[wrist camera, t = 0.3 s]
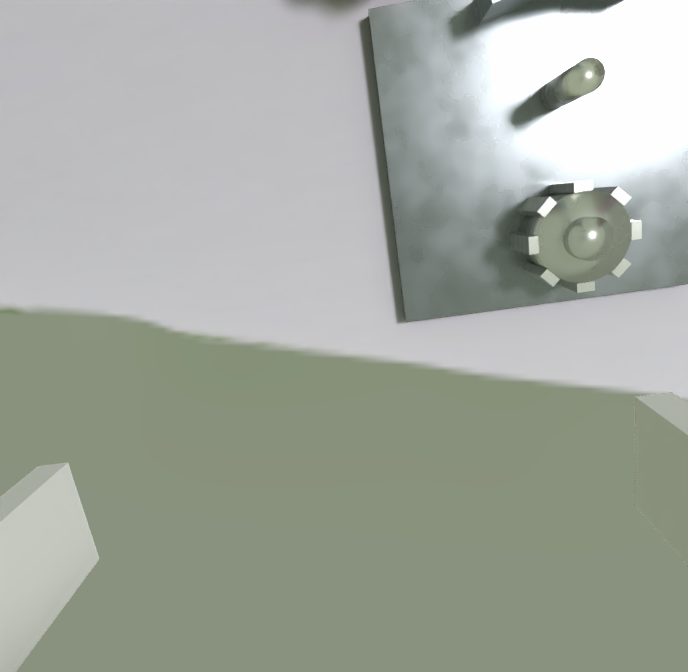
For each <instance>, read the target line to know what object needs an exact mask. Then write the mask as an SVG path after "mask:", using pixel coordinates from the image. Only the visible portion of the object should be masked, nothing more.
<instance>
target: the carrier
mask: <svg viewBox="0 0 688 672" xmlns="http://www.w3.org/2000/svg"><path fill="white" fill-rule="evenodd" d="M368 16H369V25H370V33H371V41H372V49H373V58H374V66H375V74H376V82H377V91H378V99H379V107H380V115H381V124H382V132H383V140H384V148H385V156H386V165H387V173H388V181H389V189H390V198H391V206H392V214H393V222H394V231H395V239H396V247H397V255H398V264H399V272H400V280H401V288H402V297H403V305H404V313H405V319H406V322H411V321H418V320H426V319H433V318H441V317H448V316H455V315H463V314H470V313H478V312H485V311H492V310H500V309H507V308H515V307H522V306H530V305H537V304H544V303H552V302H559V301H567V300H574V299H581V298H589V297H596V296H604V295H611V294H618V293H626V292H633V291H641V290H648V289H655V288H663V287H670V286H678V285H685V284H688V0H415V1H409V2H404V3H398V4H393V5H388V6H382V7H377V8H372V9H369V13H368Z"/></svg>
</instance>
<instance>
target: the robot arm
mask: <svg viewBox="0 0 688 672" xmlns="http://www.w3.org/2000/svg"><path fill="white" fill-rule="evenodd" d="M634 473H635V475H634V476H635V477H634V479H635V480H634V484H635V485H634V506H635V507H636V508H637V509H638V510H639V512H640V513H641V514H642V515H643V516H644V517H645V518H646V520H647V521H648V522H649V523H650V524H651V525H652V526H653V528H654V529H655V530H656V531H657V532H658V533H659V534H660V536H661V537H662V538H663V539H664V540H665V541H666V542H667V544H668V545H669V546H670V547H671V548H672V549H673V550H674V552H675V553H676V554H677V555H678V556H679V557H680V558H681V559H682V561H683V562H684V563H685V564H686V565H687V566H688V402H686V401H684V400H683V399H681V398H680V397H678V396H676V395H675V394H673V393H672V392H670V393H661V394H653V395H644V396H636V397H635V472H634ZM98 560H99V556H98V553H97V550H96V547H95V544H94V541H93V538H92V535H91V532H90V529H89V525H88V522H87V519H86V516H85V513H84V510H83V507H82V504H81V501H80V498H79V495H78V492H77V488H76V485H75V482H74V479H73V476H72V473H71V470H70V467H69V464H68V462H67V463H58V464H49V465H41V466H37V467H36V468H35V469H33V470H32V471H31V472H30V473H29V474H27V475H26V476H25V477H24V478H22V479H21V480H20V481H19V482H17V483H16V484H15V485H14V486H12V487H11V488H10V489H9V490H8V491H6V492H5V493H4V494H3V495H1V496H0V672H16V671H17V670H18V668H19V667H20V665H21V664H22V663H23V661H24V660H25V659H26V657H27V656H28V655H29V653H30V652H31V651H32V649H33V648H34V646H35V645H36V644H37V643H38V641H39V640H40V638H41V637H42V636H43V634H44V633H45V632H46V630H47V629H48V628H49V626H50V625H51V624H52V622H53V621H54V619H55V618H56V617H57V615H58V614H59V613H60V611H61V610H62V609H63V607H64V606H65V605H66V603H67V602H68V601H69V599H70V598H71V597H72V595H73V594H74V592H75V591H76V590H77V589H78V587H79V585H80V584H81V583H82V582H83V580H84V579H85V578H86V576H87V575H88V574H89V572H90V571H91V570H92V568H93V567H94V566H95V564H96V563H97V562H98Z"/></svg>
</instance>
